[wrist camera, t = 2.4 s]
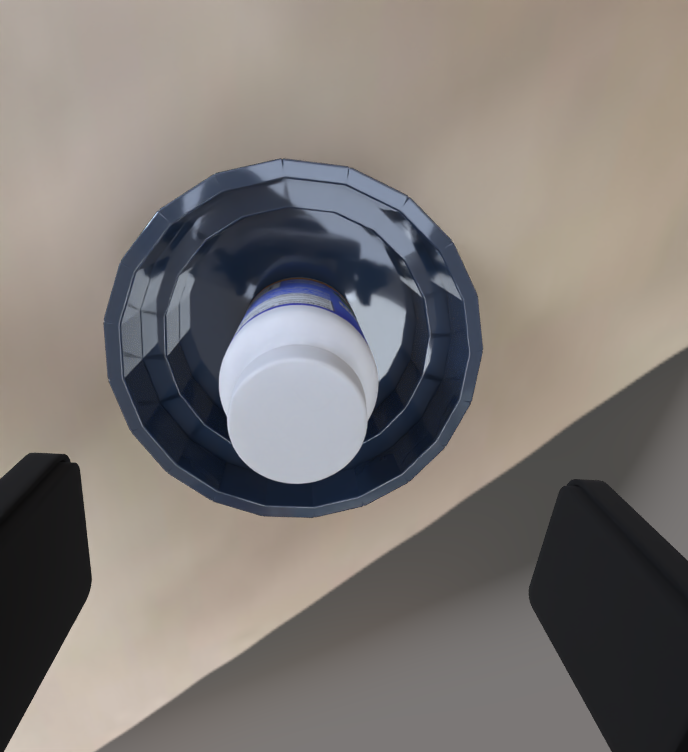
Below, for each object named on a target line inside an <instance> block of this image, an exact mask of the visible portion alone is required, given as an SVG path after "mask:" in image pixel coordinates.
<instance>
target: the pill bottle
mask: <svg viewBox="0 0 688 752" xmlns="http://www.w3.org/2000/svg"><path fill="white" fill-rule="evenodd" d="M219 393H220V399H221V403H222V406H223V409H224V412H225V414H226V416H227V427H228V433H229V437H230V440H231V443H232V445H233V447H234V449H235V451H236V452H237V454H238V456H239V457H240V458H241V459H242V460H243V461H244V462H245V463H246V464H247V465H248V466H249V467H250V468H251V469H253V470H254V471H255V472H257V473H258V474H260V475H262V476H264V477H266V478H269V479H272V480H275V481H278V482H283V483H293V484H301V483H310V482H316V481H319V480H322V479H324V478H327V477H329V476H331V475H333V474H335V473H337V472H338V471H340V470H341V469H342V468H344V467H345V466H346V465H347V464H348V463H349V462H350V461H351V460H352V459H353V458H354V457H355V455H356V454H357V453H358V451H359V449H360V448H361V446H362V443H363V441H364V438H365V435H366V430H367V421H368V420H369V418H370V416H371V414H372V412H373V409H374V407H375V403H376V400H377V394H378V373H377V367H376V364H375V360H374V358H373V355H372V352H371V350H370V348H369V346H368V343H367V341H366V339H365V337H364V335H363V332H362V330H361V328H360V325H359V323H358V321H357V319H356V316H355V314H354V312H353V310H352V308H351V306H350V305H349V303H348V302H347V301H346V299H345V298H344V297H343V296H342V295H341V294H340V293H339V292H338V291H337V290H335V289H334V288H333V287H331V286H329V285H327V284H326V283H323V282H321V281H318V280H315V279H311V278H303V277H294V278H287V279H283V280H280V281H277V282H275V283H273V284H271V285H269V286H267V287H265V288H264V289H263V290H262V291H261V292H260V293H258V295H257V296H256V297H255V298H254V299H253V300H252V302H251V304H250V305H249V307H248V309H247V311H246V313H245V315H244V317H243V320H242V321H241V323H240V325H239V327H238V329H237V331H236V333H235V335H234V337H233V339H232V341H231V343H230V345H229V347H228V349H227V351H226V354H225V356H224V358H223V361H222V364H221V368H220V374H219Z"/></svg>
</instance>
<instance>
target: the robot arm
mask: <svg viewBox="0 0 688 752" xmlns="http://www.w3.org/2000/svg"><path fill="white" fill-rule="evenodd" d="M91 582H92V576H91V566H90V557H89V548H88V539H87V530H86V520H85V511H84V502H83V493H82V484H81V475H80V468H79V466H78V464H77V463H71V462H70V459H69V457H68V456H67V455H65V454H50V453H29V454H28V455H26V456H25V457H24V458H23V459H22V460H20V461H19V462H18V463H17V464H16V465H15V466H14V467H13V468H12V469H11V470H10V471H9V472H7V473H6V474H5V475H4V476H3V477H2V478H1V479H0V752H4V750H5V749H6V747H7V745H8V743H9V741H10V739H11V738H12V736H13V734H14V732H15V730H16V728H17V727H18V725H19V723H20V721H21V719H22V717H23V716H24V714H25V712H26V710H27V708H28V706H29V705H30V703H31V701H32V699H33V697H34V695H35V694H36V692H37V690H38V688H39V686H40V684H41V682H42V681H43V679H44V677H45V675H46V673H47V671H48V670H49V668H50V666H51V664H52V662H53V660H54V659H55V657H56V655H57V653H58V651H59V649H60V648H61V646H62V644H63V642H64V640H65V638H66V637H67V635H68V633H69V631H70V629H71V627H72V625H73V624H74V622H75V620H76V618H77V616H78V614H79V613H80V611H81V609H82V607H83V605H84V603H85V602H86V600H87V597H88V595H89V592H90V588H91ZM529 599H530V603H531V606H532V608H533V610H534V612H535V613H536V615H537V617H538V619H539V621H540V622H541V624H542V626H543V628H544V630H545V632H546V633H547V635H548V637H549V639H550V641H551V642H552V644H553V646H554V648H555V649H556V651H557V653H558V655H559V657H560V658H561V660H562V662H563V664H564V666H565V667H566V670H567V671H568V673H569V675H570V677H571V679H572V680H573V682H574V684H575V686H576V688H577V689H578V691H579V693H580V695H581V697H582V698H583V700H584V702H585V704H586V706H587V708H588V709H589V711H590V713H591V715H592V717H593V718H594V720H595V722H596V724H597V726H598V728H599V729H600V731H601V733H602V735H603V737H604V738H605V740H606V742H607V744H608V746H609V747H610V749H611V751H612V752H688V561H687V560H686V559H685V558H684V557H683V556H682V555H681V554H680V553H679V552H678V551H677V550H676V549H675V548H674V547H673V546H672V545H671V544H670V543H668V542H667V541H666V540H665V539H664V538H663V537H662V536H661V535H660V534H659V533H658V532H657V531H656V530H655V529H654V528H653V527H652V526H651V525H649V523H647V522H646V521H645V520H644V519H643V518H642V517H641V516H640V515H639V514H638V513H637V512H636V511H635V510H634V509H633V508H632V507H631V506H630V505H629V504H628V503H627V502H625V501H624V500H623V499H622V498H621V497H620V496H619V495H618V494H617V493H616V492H615V491H614V490H613V489H612V488H611V487H610V486H609V485H608V484H606V483H605V482H603V481H599V480H580V479H574V480H571V481H570V482H569V483H568V484H567V486H564V487H562V488H561V489H560V491H559V494H558V497H557V500H556V503H555V507H554V510H553V513H552V516H551V519H550V522H549V526H548V529H547V532H546V535H545V539H544V542H543V545H542V548H541V551H540V555H539V558H538V561H537V564H536V567H535V571H534V574H533V577H532V580H531V584H530V586H529Z"/></svg>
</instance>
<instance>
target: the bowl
mask: <svg viewBox="0 0 688 752" xmlns="http://www.w3.org/2000/svg"><path fill="white" fill-rule="evenodd" d="M294 277H303V278H311V279H315V280H318V281H321V282H323V283H326V284H327V285H329V286H331V287H333V288H334V289H335V290H337V291H338V292H339V293H340V294H341V295H342V296H343V297H344V298H345V299H346V301H347V302H348V303H349V305H350V306H351V308H352V310H353V312H354V314H355V316H356V319H357V321H358V323H359V325H360V328H361V330H362V332H363V335H364V337H365V339H366V341H367V343H368V346H369V348H370V350H371V352H372V355H373V358H374V360H375V364H376V367H377V373H378V394H377V400H376V403H375V407H374V409H373V412H372V414H371V416H370V418H369V420H368V421H367V430H366V435H365V438H364V441H363V443H362V446H361V448H360V449H359V451H358V453H357V454H356V455H355V457H354V458H353V459H352V460H351V461H350V462H349V463H348V464H347V465H346V466H345V467H344V468H342V469H341V470H340V471H338V472H337V473H335V474H333V475H331V476H329V477H327V478H324V479H322V480H319V481H316V482H310V483H301V484H293V483H283V482H278V481H275V480H272V479H269V478H266V477H264V476H262V475H260V474H258V473H257V472H255V471H254V470H253V469H251V468H250V467H249V466H248V465H247V464H246V463H245V462H244V461H243V460H242V459H241V458H240V457H239V456H238V454H237V452H236V451H235V449H234V447H233V445H232V443H231V440H230V437H229V433H228V427H227V416H226V414H225V412H224V409H223V406H222V403H221V399H220V393H219V374H220V368H221V364H222V361H223V358H224V356H225V354H226V351H227V349H228V347H229V345H230V343H231V341H232V339H233V337H234V335H235V333H236V331H237V329H238V327H239V325H240V323H241V321H242V320H243V317H244V315H245V313H246V311H247V309H248V307H249V305H250V304H251V302H252V300H253V299H254V298H255V297H256V296H257V295H258V293H260V292H261V291H262V290H263V289H264V288H265V287H267V286H269V285H271V284H273V283H275V282H277V281H280V280H283V279H287V278H294ZM103 324H104V337H105V350H106V362H107V375H108V379H109V383H110V386H111V388H112V390H113V393H114V395H115V397H116V399H117V402H118V404H119V406H120V409H121V411H122V413H123V415H124V418H125V420H126V422H127V425H128V427H129V429H130V431H131V432H132V434H133V435H134V436H135V437H136V438H137V439H138V441H139V442H140V443H141V444H142V445H143V446H144V447H145V449H146V450H147V451H148V452H149V453H150V454H151V455H152V456H153V458H154V459H155V460H156V461H157V462H158V463H159V464H160V466H161V467H162V468H163V469H164V470H165V471H166V472H168V474H170V475H171V476H173V477H174V478H176V479H178V480H179V481H181V482H182V483H184V484H186V485H187V486H189V487H190V488H192V489H194V490H195V491H197V492H198V493H200V494H202V495H203V496H205V497H206V498H208V499H210V500H213V502H216V503H220V504H223V505H226V506H230V507H233V508H236V509H240V510H243V511H246V512H250V513H253V514H256V515H260V516H262V515H263V516H269V517H304V518H314V517H319V516H323V515H328V514H332V513H336V512H341V511H345V510H349V509H354V508H358V507H362V506H363V505H364V506H365V505H367V504H369V503H371V502H373V501H375V500H376V499H378V498H380V497H382V496H384V495H386V494H388V493H390V492H391V491H393V490H395V489H397V488H399V487H401V486H403V485H405V484H406V483H408V481H411V480H412V479H413V478H414V477H415V476H416V475H417V474H418V473H419V472H420V471H421V470H422V469H423V468H424V467H425V466H426V465H427V464H428V463H429V462H430V461H432V460H433V459H434V458H435V457H436V456H437V455H438V454H439V453H440V452H441V451H442V450H443V449H444V448H445V446H446V445H447V444H448V442H449V440H450V439H451V437H452V435H453V433H454V432H455V430H456V428H457V426H458V425H459V423H460V421H461V420H462V418H463V416H464V414H465V413H466V411H467V409H468V407H469V406H470V404H471V401H472V397H473V393H474V388H475V384H476V379H477V375H478V371H479V366H480V362H481V357H482V353H483V351H482V350H483V344H482V334H481V324H480V314H479V304H478V296H477V292H476V290H475V288H474V286H473V284H472V282H471V279H470V277H469V275H468V273H467V271H466V269H465V266H464V264H463V262H462V260H461V258H460V256H459V253H458V251H457V249H456V247H455V245H454V243H453V242H452V240H451V239H450V238H449V237H448V236H447V235H446V234H445V233H444V232H443V231H442V230H441V228H440V227H439V226H438V225H437V224H436V223H435V222H434V221H433V220H432V219H431V218H430V217H429V216H428V215H427V214H426V213H425V212H424V211H423V210H422V209H421V208H420V207H419V206H418V205H417V204H416V203H415V202H414V201H413V200H412V199H411V198H410V197H408V195H406V194H404V193H402V192H400V191H398V190H396V189H394V188H392V187H390V186H388V185H386V184H384V183H382V182H380V181H378V180H376V179H374V178H372V177H370V176H368V175H366V174H364V173H362V172H360V171H358V170H356V169H354V168H349V167H348V166H342V165H333V164H325V163H317V162H309V161H301V160H293V159H285V158H284V159H281V158H280V159H276V160H271V161H267V162H262V163H258V164H254V165H249V166H245V167H240V168H236V169H231V170H227V171H223V172H218V173H215V174H213V175H211V176H210V177H208V178H207V179H205V180H204V181H202V182H201V183H199V184H197V185H196V186H194V187H193V188H191V189H190V190H188V191H187V192H185V193H184V194H182V195H180V196H179V197H177V198H176V199H174V200H173V201H171V202H170V203H168V204H167V205H165V206H163V207H162V208H160V210H159V211H157V212H156V214H155V215H154V216H153V218H152V219H151V220H150V222H149V223H148V224H147V226H146V227H145V228H144V230H143V231H142V232H141V234H140V235H139V237H138V238H137V239H136V241H135V242H134V243H133V245H132V246H131V247H130V249H129V250H128V251H127V253H126V254H125V255H124V257H123V258H122V260H121V263H120V264H119V267H118V270H117V274H116V277H115V281H114V285H113V288H112V292H111V295H110V299H109V302H108V306H107V309H106V313H105V316H104V323H103Z"/></svg>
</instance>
